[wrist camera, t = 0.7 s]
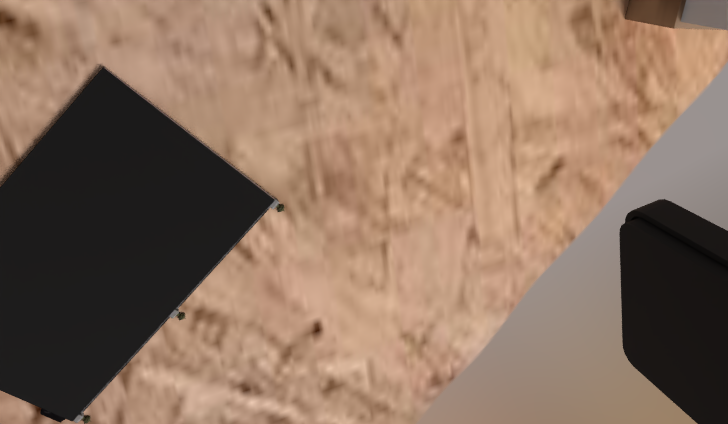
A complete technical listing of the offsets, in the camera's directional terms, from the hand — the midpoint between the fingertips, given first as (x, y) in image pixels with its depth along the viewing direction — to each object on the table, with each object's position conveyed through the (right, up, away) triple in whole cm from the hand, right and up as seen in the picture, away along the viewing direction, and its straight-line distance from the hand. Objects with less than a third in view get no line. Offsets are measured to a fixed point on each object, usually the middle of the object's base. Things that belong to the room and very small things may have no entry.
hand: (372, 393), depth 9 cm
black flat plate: (-19, -1, +32) cm, 37 cm away
